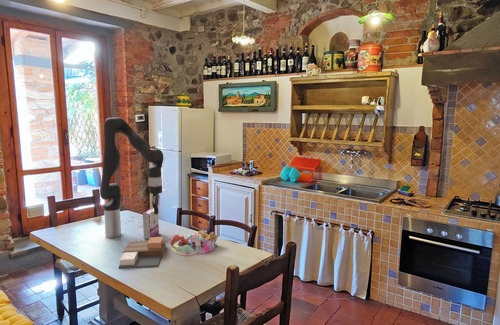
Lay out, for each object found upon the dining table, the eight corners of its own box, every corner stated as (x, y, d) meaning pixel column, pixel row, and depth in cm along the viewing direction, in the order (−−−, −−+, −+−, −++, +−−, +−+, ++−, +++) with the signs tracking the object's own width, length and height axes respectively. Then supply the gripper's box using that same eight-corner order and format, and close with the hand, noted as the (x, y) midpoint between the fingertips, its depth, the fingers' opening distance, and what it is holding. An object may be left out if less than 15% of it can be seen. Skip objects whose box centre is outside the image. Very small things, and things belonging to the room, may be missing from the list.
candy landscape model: (195, 237, 210) (195, 223, 209) (224, 245, 197) (224, 230, 196) (164, 250, 190) (163, 234, 189) (194, 260, 177) (193, 243, 175)
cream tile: (124, 258, 177) (123, 252, 176) (137, 257, 178) (137, 251, 177) (119, 265, 168) (119, 259, 167) (134, 264, 169) (134, 259, 168)
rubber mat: (124, 259, 177) (123, 257, 177) (160, 257, 179) (160, 256, 179) (118, 268, 166) (118, 267, 166) (157, 266, 168) (157, 265, 168)
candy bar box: (152, 232, 217) (151, 208, 215) (159, 233, 216) (158, 208, 214) (143, 239, 207) (142, 213, 204) (150, 239, 206) (149, 213, 203)
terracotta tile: (150, 242, 190) (150, 237, 190) (162, 241, 191) (162, 236, 191) (147, 248, 181) (147, 243, 181) (160, 247, 182) (160, 242, 182)
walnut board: (129, 248, 192) (129, 241, 191) (165, 246, 194) (165, 240, 194) (123, 259, 177) (122, 252, 176) (161, 257, 179) (161, 250, 179)
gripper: (150, 182, 197) (151, 211, 200) (146, 187, 184) (147, 217, 187) (163, 182, 198) (164, 210, 200) (160, 186, 185) (161, 217, 187)
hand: (156, 214), depth 193 cm, fingers closed
